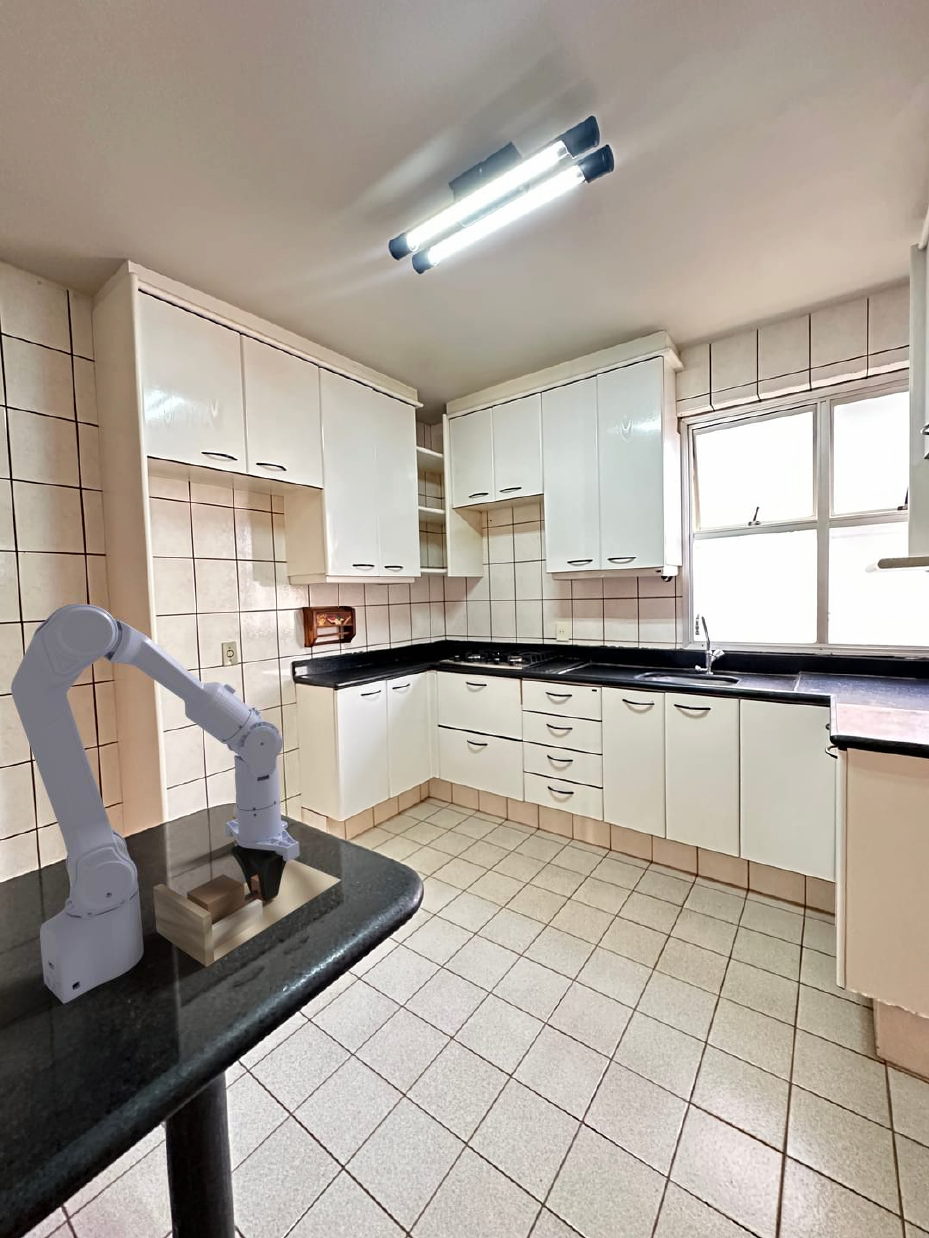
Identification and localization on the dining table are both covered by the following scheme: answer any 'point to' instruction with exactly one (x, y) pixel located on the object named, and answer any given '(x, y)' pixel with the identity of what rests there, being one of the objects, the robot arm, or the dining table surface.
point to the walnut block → (224, 896)
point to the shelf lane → (233, 914)
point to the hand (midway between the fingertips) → (264, 894)
